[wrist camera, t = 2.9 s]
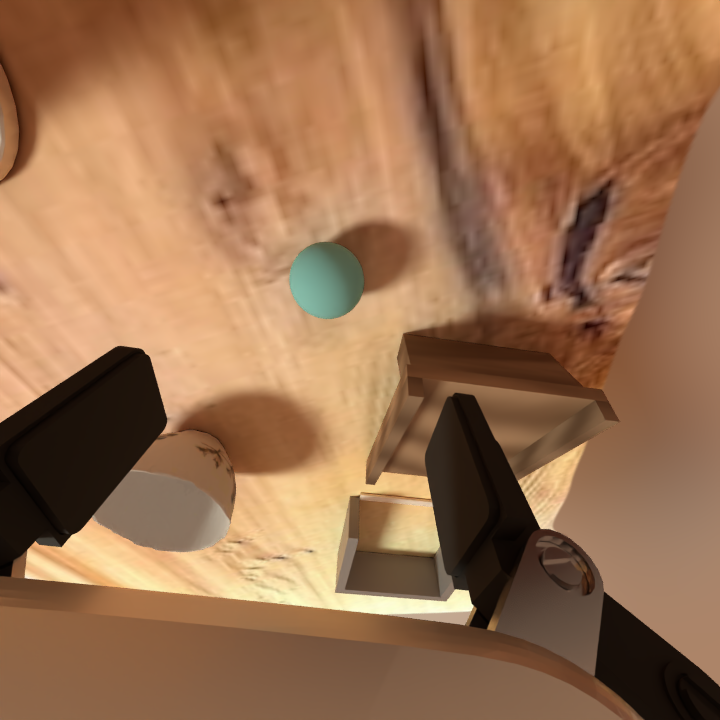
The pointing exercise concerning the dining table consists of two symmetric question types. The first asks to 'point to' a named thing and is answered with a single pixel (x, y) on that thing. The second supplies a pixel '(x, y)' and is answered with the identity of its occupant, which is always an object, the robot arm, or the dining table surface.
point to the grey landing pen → (388, 563)
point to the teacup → (174, 495)
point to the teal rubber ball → (326, 280)
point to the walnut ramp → (486, 404)
